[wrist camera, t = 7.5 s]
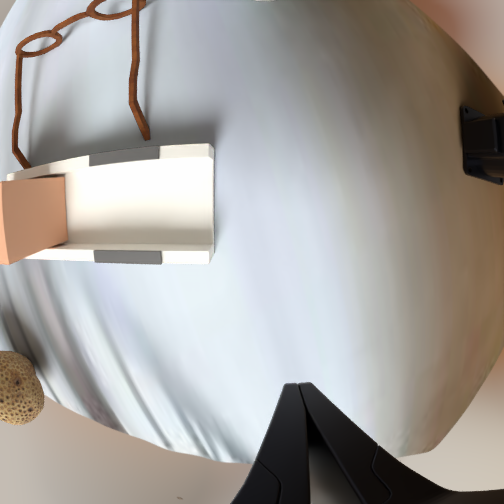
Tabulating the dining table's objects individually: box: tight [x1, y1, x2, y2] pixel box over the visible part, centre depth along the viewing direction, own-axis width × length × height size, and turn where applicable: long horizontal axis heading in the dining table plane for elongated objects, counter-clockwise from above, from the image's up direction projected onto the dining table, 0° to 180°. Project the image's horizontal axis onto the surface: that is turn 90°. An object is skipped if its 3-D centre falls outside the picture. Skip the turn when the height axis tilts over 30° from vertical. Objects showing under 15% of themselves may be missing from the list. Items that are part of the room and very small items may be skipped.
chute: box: [7, 143, 214, 264], centre depth 16 cm, size 18×7×3 cm, turn 89°
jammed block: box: [0, 177, 68, 265], centre depth 14 cm, size 5×5×7 cm
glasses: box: [12, 0, 150, 169], centre depth 13 cm, size 13×13×5 cm
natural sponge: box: [0, 351, 44, 425], centre depth 17 cm, size 9×9×10 cm
